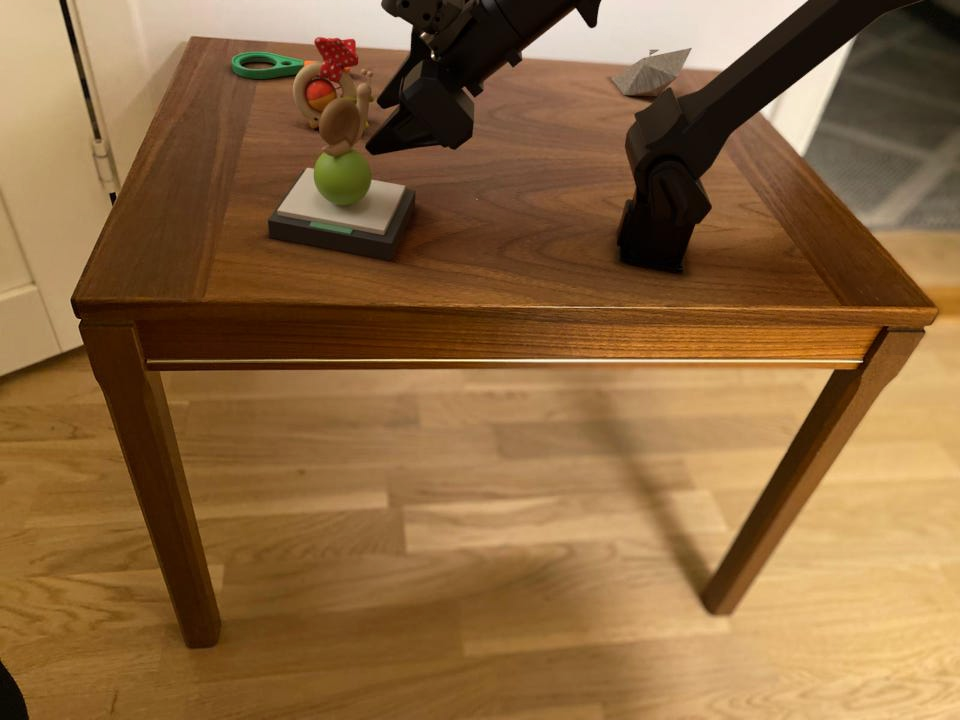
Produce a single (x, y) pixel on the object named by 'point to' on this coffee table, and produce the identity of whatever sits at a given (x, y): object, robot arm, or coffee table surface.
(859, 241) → the coffee table surface
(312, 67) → the bird rattle
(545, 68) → the coffee table surface
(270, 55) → the magnifying glass
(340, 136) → the snail figurine
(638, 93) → the paper boat
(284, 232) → the scale
